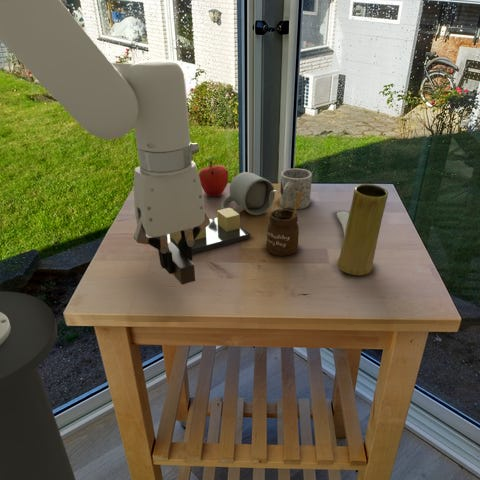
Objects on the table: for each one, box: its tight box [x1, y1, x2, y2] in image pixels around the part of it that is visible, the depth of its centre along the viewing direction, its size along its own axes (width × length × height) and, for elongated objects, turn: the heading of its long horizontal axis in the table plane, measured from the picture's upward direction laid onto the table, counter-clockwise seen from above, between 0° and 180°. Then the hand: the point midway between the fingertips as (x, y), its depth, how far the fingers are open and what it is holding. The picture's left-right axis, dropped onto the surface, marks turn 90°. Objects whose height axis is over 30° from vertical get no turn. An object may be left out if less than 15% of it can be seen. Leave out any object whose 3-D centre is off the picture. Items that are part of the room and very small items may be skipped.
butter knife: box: [336, 210, 350, 237], centre depth 96 cm, size 1×24×3 cm
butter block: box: [170, 228, 206, 244], centre depth 95 cm, size 6×4×3 cm, turn 119°
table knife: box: [168, 242, 196, 285], centre depth 85 cm, size 2×19×3 cm, turn 30°
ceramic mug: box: [220, 171, 276, 216], centre depth 106 cm, size 11×8×8 cm
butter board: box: [167, 217, 251, 255], centre depth 97 cm, size 16×10×1 cm, turn 119°
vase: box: [336, 183, 389, 276], centre depth 83 cm, size 6×6×14 cm
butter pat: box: [216, 207, 241, 232], centre depth 98 cm, size 3×4×3 cm
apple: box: [198, 154, 229, 197], centre depth 112 cm, size 8×7×10 cm
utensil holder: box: [266, 189, 303, 257], centre depth 90 cm, size 6×6×12 cm
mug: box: [279, 167, 313, 210], centre depth 108 cm, size 10×7×7 cm, turn 153°
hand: (177, 266), depth 82 cm, fingers closed on table knife, 2 cm apart
